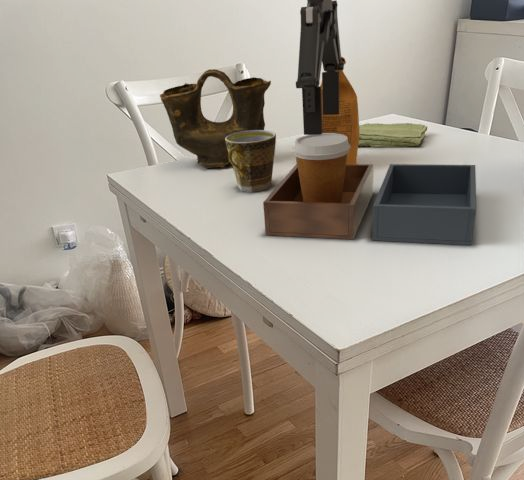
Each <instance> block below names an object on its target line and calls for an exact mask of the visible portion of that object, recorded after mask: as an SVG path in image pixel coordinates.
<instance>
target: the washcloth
mask: <svg viewBox="0 0 524 480" xmlns="http://www.w3.org/2000/svg"><path fill="white" fill-rule="evenodd" d="M427 131H428V125H425V124H420V123H413V122H410V123H409V122H406V123H405V122H404V123H378V122H377V123H368V122H367V123H364V124H359V145H358V147H371V148H377V147H378V148H379V147H385V148H386V147H387V148H398V147H401V148H402V147H406V148H407V147H415V146H416V147H418V146H419V145H420V144H421V142H422V140H423V138H424V137H425V136H426V132H427Z"/></svg>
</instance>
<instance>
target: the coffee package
mask: <svg viewBox="0 0 524 480" xmlns="http://www.w3.org/2000/svg"><path fill="white" fill-rule="evenodd" d="M341 59H342V62H341V63H344V65H346V63H347V62H346V58H345V57H343V56H341ZM336 71H339V114H338V115H323V96H322V81H321V82H320V84H319V86H321V96H322V133H336V134H342V135H345V136H347V138H348V143H349V144H350V146H351V147H350V149H349V152H348V153H347V162H346V164H357V160H358V150H359V146H358V145H359V126H360V118H359V116H360V115H359V103H358V96H357V93H356V91H355V89H354V87H353V86H352V84H351V82H350V80H349V79H348V77H347V76H346V74H345V72H344V70H336ZM324 72H327V71H324Z"/></svg>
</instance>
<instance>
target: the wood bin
mask: <svg viewBox="0 0 524 480" xmlns="http://www.w3.org/2000/svg"><path fill="white" fill-rule="evenodd" d="M374 168H375V164H374V163H356V164H346V169H345V177H344V184H343V192H342V200H341V203H320V202H303V197H302V191H301V184H300V178H299V172H298V166H297V163H296V164H295V165H294V166H293V167H292V168H291V169H290V170H289V172H288V173H287V174H286V175H285V177H284V178H282V180H281V181H280V182H279V184H277V186H275V188H274V190H272V191H271V192H270V194H269V195H268V196H267V197H266V198H265V199H264V201H262V202H263V203H262V206H263V215H264V216H263V217H264V229H265V230H264V231H265V236H275V237H276V236H277V237H278V236H279V237H295V238H296V237H298V238H318V239H337V240H338V239H339V240H355V237H356V234H357V231H358V230H359V226H360V225H361V223H362V220H363V219H364V218H363V217H364V215H365V213H366V210H367V208H368V206H369V203H370V201H371V198H372V196H373V194H374V170H375V169H374Z"/></svg>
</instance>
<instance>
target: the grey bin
mask: <svg viewBox="0 0 524 480" xmlns="http://www.w3.org/2000/svg"><path fill="white" fill-rule="evenodd" d="M476 177H477V176H476V164H422V163H421V164H420V163H419V164H418V163H417V164H412V163H411V164H408V163H407V164H406V163H405V164H404V163H390V164H389V166H388V168H387V170H386V174H385V176H384V179H383V181H382V184H381V186H380V188H379V191H378V192H377V193H378V194H377V196H376V199H375V201H374V203H373V206H372V231H371V232H372V233H371V240H372V241H377V242H399V243H419V244H420V243H421V244H439V245H459V246H460V245H461V246H472V240H473V234H474V227H475V222H476V221H475V220H476V214H477V178H476Z"/></svg>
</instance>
